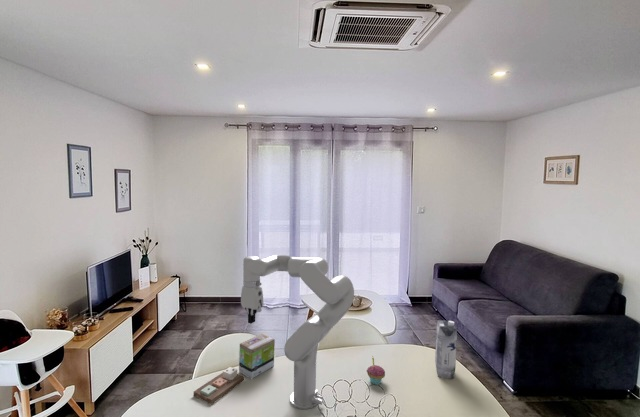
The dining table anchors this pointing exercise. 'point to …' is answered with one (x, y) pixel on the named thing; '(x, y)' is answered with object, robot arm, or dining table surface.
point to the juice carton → (446, 349)
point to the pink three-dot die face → (219, 383)
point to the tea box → (256, 355)
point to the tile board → (220, 391)
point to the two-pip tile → (230, 373)
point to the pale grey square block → (208, 390)
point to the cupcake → (375, 373)
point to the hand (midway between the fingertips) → (251, 322)
